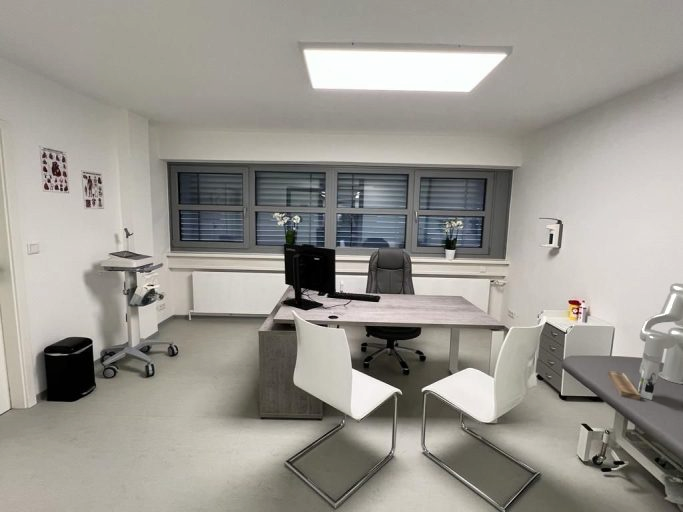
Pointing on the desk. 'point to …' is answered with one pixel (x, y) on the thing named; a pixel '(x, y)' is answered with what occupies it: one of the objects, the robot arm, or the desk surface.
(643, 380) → the syrup box
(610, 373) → the walnut board
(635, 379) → the desk surface
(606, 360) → the desk surface
